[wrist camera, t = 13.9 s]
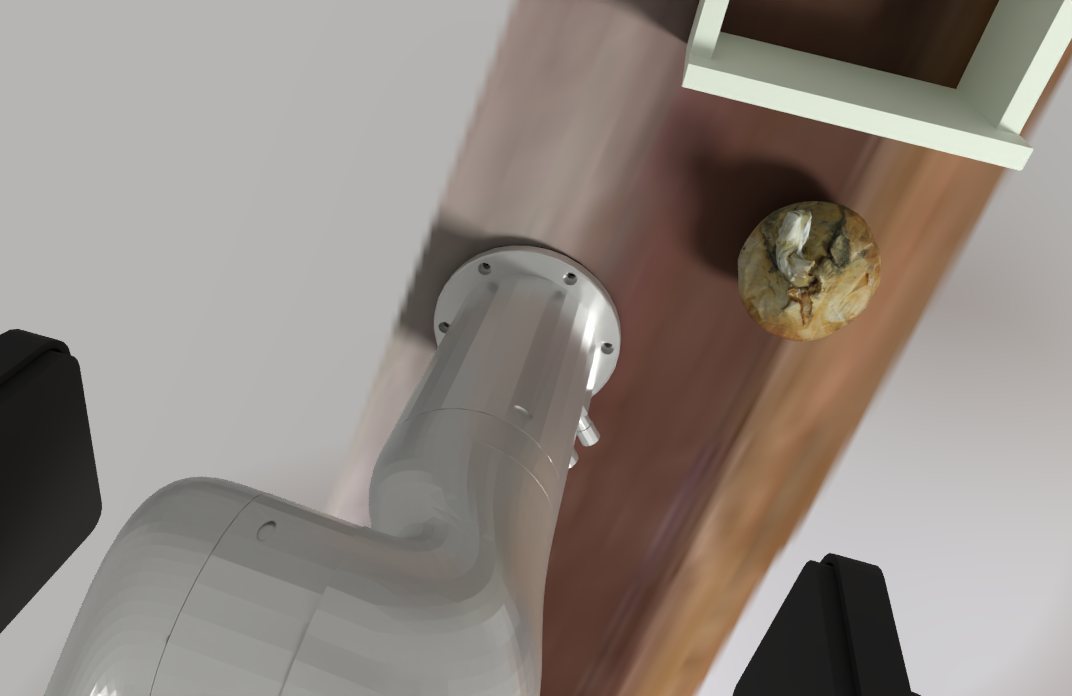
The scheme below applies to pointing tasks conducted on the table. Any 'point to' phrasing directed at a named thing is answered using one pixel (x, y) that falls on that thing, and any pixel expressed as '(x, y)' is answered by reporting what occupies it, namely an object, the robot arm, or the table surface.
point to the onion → (808, 270)
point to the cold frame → (897, 82)
